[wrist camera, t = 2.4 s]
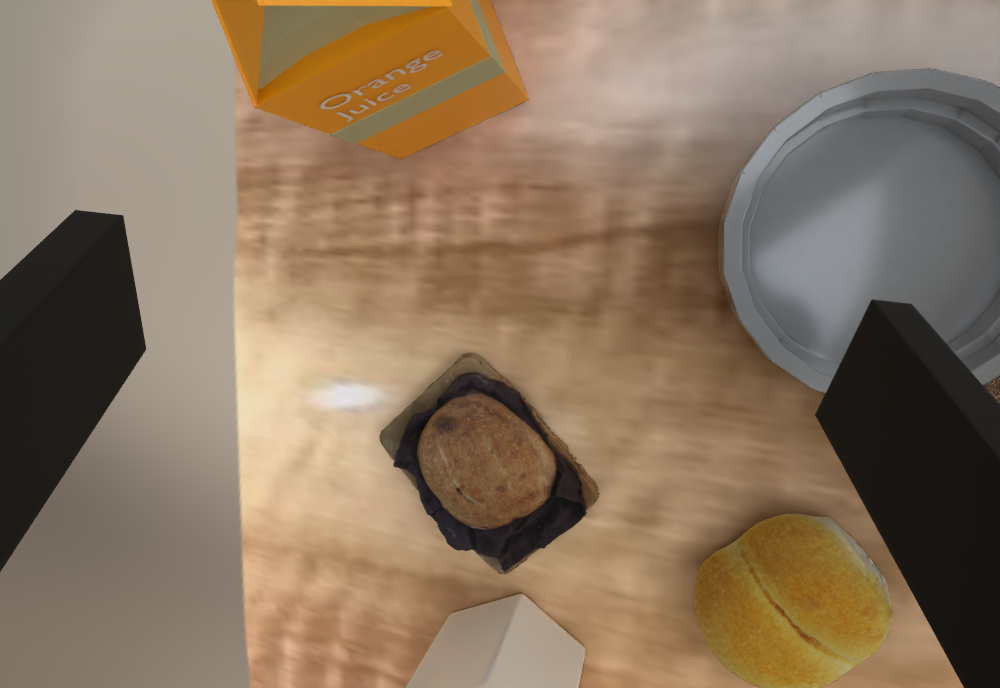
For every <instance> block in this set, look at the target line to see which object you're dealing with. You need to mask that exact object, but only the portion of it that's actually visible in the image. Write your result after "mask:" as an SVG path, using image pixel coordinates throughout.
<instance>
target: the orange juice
mask: <svg viewBox="0 0 1000 688" xmlns="http://www.w3.org/2000/svg"><path fill="white" fill-rule="evenodd" d="M212 3H213V5H214V8H215V10H216V13H217V15H218V18H219V20H220V23H221V25H222V28H223V30H224V33H225V35H226V38H227V40H228V43H229V45H230V48H231V50H232V53H233V55H234V58H235V60H236V63H237V66H238V68H239V71H240V73H241V76H242V78H243V81H244V83H245V86H246V88H247V91H248V93H249V96H250V98H251V101H252V103H253V106H254V107H255V108H258V109H260V110H263V111H266V112H269V113H272V114H274V115H277V116H280V117H283V118H286V119H289V120H291V121H294V122H297V123H300V124H303V125H306V126H308V127H311V128H314V129H317V130H320V131H323V132H325V133H328V134H330V136H333V137H335V138H338V139H341V140H344V141H347V142H350V143H353V144H359V145H362V146H365V147H368V148H371V149H373V150H376V151H379V152H382V153H385V154H387V155H390V156H393V157H396V158H399V159H402V158H404V157H407V156H409V155H411V154H413V153H415V152H417V151H419V150H422V149H424V148H426V147H428V146H430V145H432V144H434V143H437V142H439V141H441V140H443V139H445V138H447V137H449V136H452V135H454V134H456V133H458V132H460V131H462V130H465V129H467V128H469V127H471V126H473V125H475V124H477V123H480V122H482V121H484V120H486V119H488V118H490V117H492V116H495V115H497V114H499V113H501V112H503V111H505V110H507V109H510V108H512V107H514V106H516V105H518V104H520V103H522V102H525V101H527V100H529V98H528V95H527V92H526V90H525V87H524V85H523V82H522V79H521V77H520V74H519V72H518V69H517V66H516V64H515V61H514V59H513V56H512V54H511V51H510V48H509V46H508V43H507V41H506V38H505V35H504V33H503V30H502V28H501V25H500V22H499V20H498V17H497V15H496V12H495V9H494V7H493V4H492V2H491V0H212Z"/></svg>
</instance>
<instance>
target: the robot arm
mask: <svg viewBox="0 0 1000 688" xmlns="http://www.w3.org/2000/svg"><path fill="white" fill-rule="evenodd" d="M145 350H146V345H145V339H144V334H143V328H142V322H141V316H140V310H139V305H138V299H137V293H136V288H135V281H134V276H133V270H132V264H131V258H130V253H129V247H128V242H127V235H126V230H125V224H124V218H123V215H114V214H105V213H96V212H88V211H79V210H75V211H74V212H73V213H72V214H71V215H70V216H69V217H67V218H66V219H65V220H64V221H63V222H62V223H61V224H60V225H59V226H58V227H57V228H56V229H55V230H54V231H52V232H51V233H50V234H49V235H48V236H47V237H46V238H45V239H44V240H43V241H42V242H41V243H40V244H39V245H37V246H36V247H35V248H34V249H33V250H32V251H31V252H30V253H29V254H28V255H27V256H26V257H25V258H24V259H22V260H21V261H20V262H19V263H18V264H17V265H16V266H15V267H14V268H13V269H12V270H11V271H10V272H9V273H7V274H6V275H5V276H4V277H3V278H2V279H1V280H0V571H1V570H2V568H3V567H4V565H5V564H6V562H7V561H8V559H9V558H10V556H11V555H12V553H13V552H14V550H15V548H16V547H17V545H18V544H19V542H20V541H21V539H22V538H23V536H24V535H25V533H26V532H27V530H28V529H29V527H30V525H31V524H32V523H33V521H34V519H35V518H36V517H37V515H38V513H39V512H40V510H41V509H42V507H43V506H44V504H45V503H46V501H47V500H48V498H49V497H50V495H51V494H52V492H53V491H54V489H55V488H56V486H57V484H58V483H59V481H60V480H61V478H62V477H63V475H64V474H65V472H66V471H67V469H68V467H69V466H70V465H71V463H72V461H73V460H74V459H75V457H76V456H77V454H78V452H79V451H80V449H81V448H82V446H83V445H84V443H85V442H86V440H87V439H88V437H89V436H90V434H91V433H92V431H93V429H94V428H95V427H96V425H97V424H98V422H99V420H100V419H101V417H102V416H103V414H104V413H105V411H106V409H107V408H108V407H109V405H110V404H111V402H112V401H113V399H114V398H115V396H116V395H117V393H118V391H119V390H120V388H121V387H122V385H123V384H124V382H125V381H126V379H127V378H128V376H129V375H130V373H131V371H132V370H133V369H134V367H135V366H136V364H137V363H138V361H139V359H140V358H141V356H142V355H143V353H144V352H145ZM815 415H816V417H817V419H818V421H819V423H820V424H821V426H822V428H823V430H824V432H825V434H826V435H827V437H828V439H829V441H830V443H831V445H832V446H833V448H834V450H835V452H836V454H837V456H838V457H839V459H840V461H841V463H842V465H843V467H844V468H845V470H846V472H847V474H848V476H849V478H850V479H851V481H852V483H853V485H854V487H855V489H856V490H857V492H858V494H859V496H860V498H861V500H862V501H863V503H864V505H865V507H866V509H867V511H868V512H869V514H870V516H871V518H872V520H873V522H874V523H875V525H876V527H877V529H878V531H879V533H880V534H881V536H882V538H883V540H884V542H885V544H886V545H887V547H888V549H889V551H890V553H891V555H892V556H893V558H894V560H895V562H896V564H897V566H898V567H899V569H900V571H901V573H902V575H903V577H904V578H905V580H906V582H907V584H908V586H909V588H910V589H911V591H912V593H913V595H914V597H915V599H916V600H917V602H918V604H919V606H920V608H921V610H922V611H923V613H924V615H925V617H926V619H927V621H928V622H929V624H930V626H931V628H932V630H933V632H934V633H935V635H936V637H937V639H938V641H939V643H940V644H941V646H942V648H943V650H944V652H945V654H946V655H947V657H948V659H949V661H950V663H951V665H952V666H953V668H954V670H955V672H956V674H957V676H958V677H959V679H960V681H961V683H962V685H963V687H964V688H1000V405H999V403H998V402H997V401H996V400H995V399H994V398H993V397H992V395H991V394H990V393H989V392H988V391H987V390H986V388H985V387H984V386H983V385H982V384H981V383H980V382H979V380H978V379H977V378H976V377H975V376H974V375H973V374H972V372H971V371H970V370H969V369H968V368H967V367H966V366H965V364H964V363H963V362H962V361H961V360H960V359H959V358H958V356H957V355H956V354H955V353H954V352H953V351H952V349H951V348H950V347H949V346H948V345H947V344H946V343H945V341H944V340H943V339H942V338H941V337H940V336H939V335H938V333H937V332H936V331H935V330H934V329H933V328H932V327H931V325H930V324H929V323H928V322H927V321H926V320H925V319H924V317H923V316H922V315H921V314H920V313H919V312H918V310H917V309H916V308H915V307H914V306H913V305H912V304H909V303H900V302H892V301H883V300H874V299H872V300H871V302H870V304H869V306H868V308H867V310H866V312H865V314H864V316H863V318H862V320H861V322H860V324H859V326H858V328H857V330H856V332H855V334H854V336H853V338H852V340H851V343H850V345H849V347H848V349H847V351H846V353H845V355H844V357H843V359H842V361H841V363H840V365H839V367H838V369H837V371H836V373H835V375H834V377H833V379H832V381H831V383H830V385H829V388H828V390H827V392H826V394H825V396H824V398H823V400H822V402H821V404H820V406H819V408H818V410H817V412H816V414H815Z"/></svg>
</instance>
